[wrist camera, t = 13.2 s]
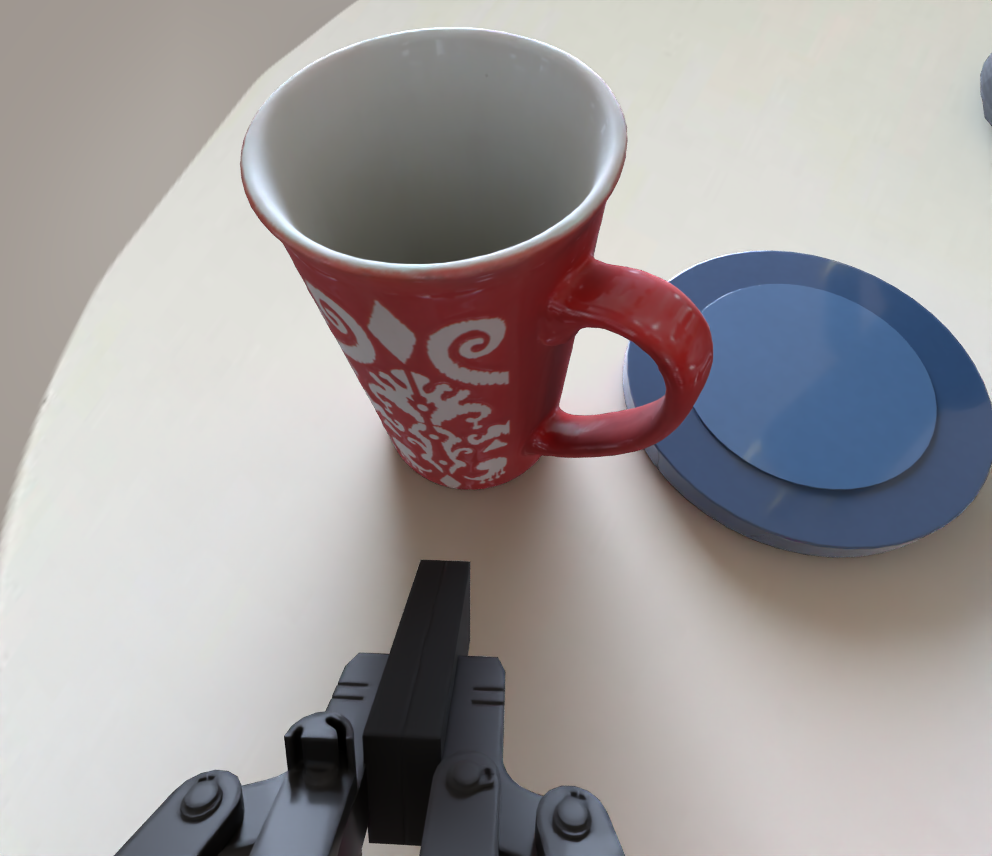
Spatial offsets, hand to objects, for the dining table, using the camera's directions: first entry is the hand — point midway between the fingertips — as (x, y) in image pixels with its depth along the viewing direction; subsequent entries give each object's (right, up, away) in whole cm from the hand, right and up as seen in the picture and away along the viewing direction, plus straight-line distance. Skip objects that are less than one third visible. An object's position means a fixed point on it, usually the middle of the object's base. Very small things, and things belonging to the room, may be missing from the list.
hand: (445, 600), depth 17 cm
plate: (+15, +7, +8) cm, 18 cm away
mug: (+2, +5, +7) cm, 9 cm away
